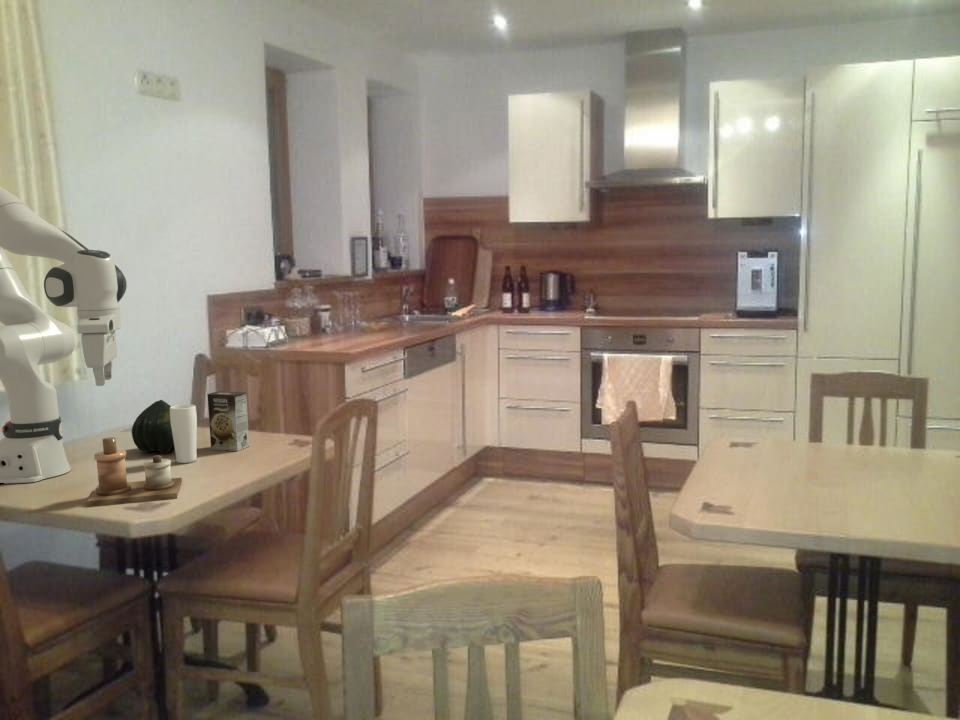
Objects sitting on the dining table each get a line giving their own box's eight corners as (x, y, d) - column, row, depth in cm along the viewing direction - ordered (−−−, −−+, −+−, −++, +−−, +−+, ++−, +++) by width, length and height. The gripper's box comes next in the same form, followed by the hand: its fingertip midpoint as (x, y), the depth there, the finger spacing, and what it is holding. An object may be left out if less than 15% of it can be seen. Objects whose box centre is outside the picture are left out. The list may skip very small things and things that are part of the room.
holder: (87, 506, 193) (83, 466, 192) (98, 489, 206) (95, 452, 205) (177, 498, 198) (174, 458, 196) (182, 482, 211) (179, 445, 210)
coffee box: (209, 450, 245) (206, 394, 242) (223, 444, 251) (219, 390, 249) (237, 451, 242) (233, 394, 240) (250, 446, 248) (247, 391, 246)
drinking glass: (204, 458, 235) (200, 404, 233) (193, 464, 228) (189, 408, 226) (180, 458, 236) (176, 404, 234) (168, 464, 229) (164, 409, 227)
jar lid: (92, 462, 195) (90, 443, 195) (97, 455, 202) (95, 436, 201) (124, 459, 197) (122, 440, 196) (128, 452, 204) (126, 434, 203)
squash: (144, 441, 232) (172, 394, 239) (113, 438, 241) (140, 392, 248) (181, 467, 242) (207, 421, 249) (150, 462, 251) (175, 418, 258)
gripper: (92, 319, 204) (97, 376, 206) (75, 326, 185) (80, 390, 187) (121, 317, 206) (125, 375, 208) (107, 325, 186) (112, 388, 188)
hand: (104, 382), depth 197 cm, fingers open, 8 cm apart
